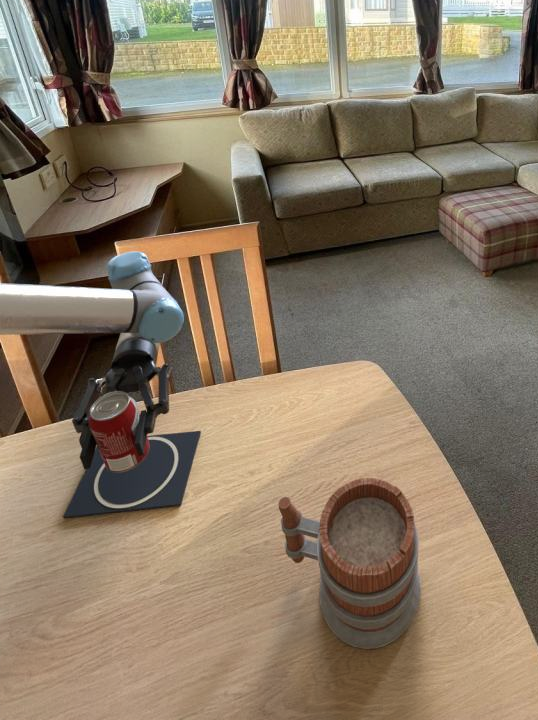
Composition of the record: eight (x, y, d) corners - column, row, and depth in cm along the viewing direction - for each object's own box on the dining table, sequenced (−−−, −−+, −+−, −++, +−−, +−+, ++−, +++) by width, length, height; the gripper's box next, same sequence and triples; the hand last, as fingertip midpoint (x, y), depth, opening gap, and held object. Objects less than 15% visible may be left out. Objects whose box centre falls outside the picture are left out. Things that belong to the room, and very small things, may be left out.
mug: (408, 667, 59) (409, 601, 53) (266, 619, 64) (251, 553, 57) (428, 548, 72) (431, 483, 65) (308, 515, 76) (299, 451, 70)
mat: (63, 518, 76) (62, 516, 76) (100, 441, 89) (99, 439, 89) (180, 505, 78) (180, 503, 78) (200, 432, 90) (200, 430, 90)
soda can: (139, 475, 77) (120, 423, 72) (97, 475, 77) (75, 422, 72) (157, 439, 83) (141, 388, 78) (119, 438, 83) (100, 387, 78)
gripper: (194, 357, 97) (186, 455, 77) (85, 378, 92) (46, 490, 72) (187, 327, 94) (176, 422, 74) (73, 348, 89) (29, 456, 69)
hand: (112, 455), depth 73 cm, fingers closed on soda can, 7 cm apart
